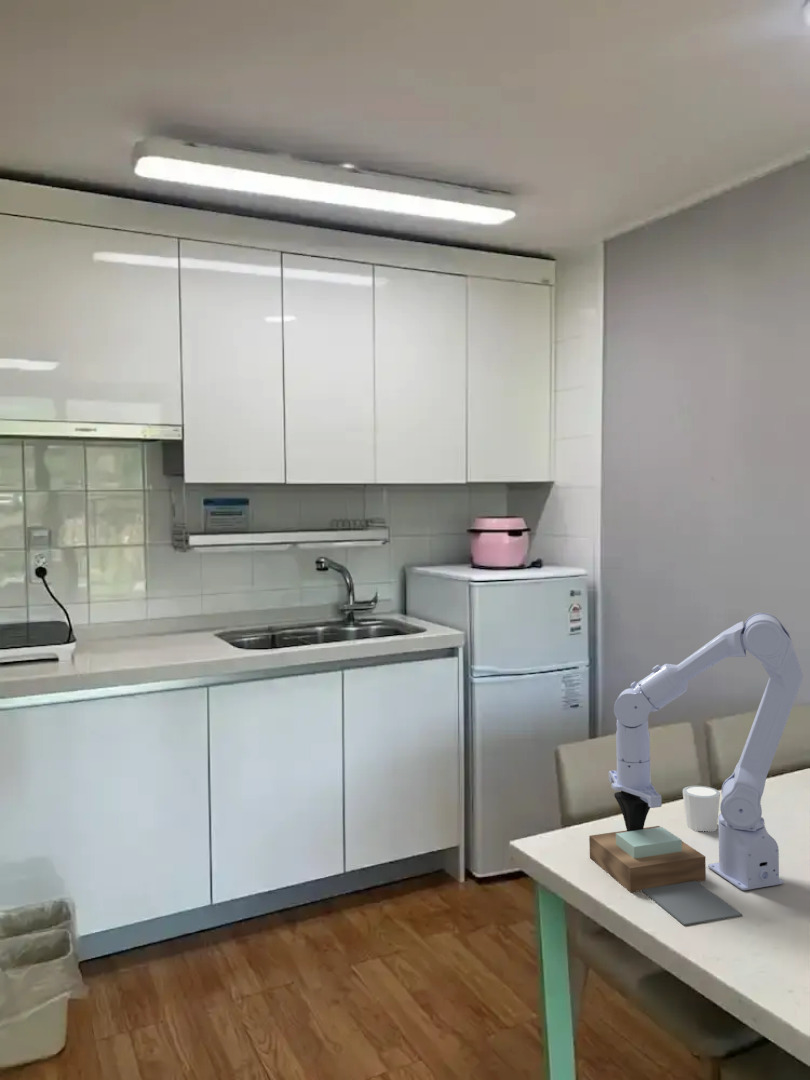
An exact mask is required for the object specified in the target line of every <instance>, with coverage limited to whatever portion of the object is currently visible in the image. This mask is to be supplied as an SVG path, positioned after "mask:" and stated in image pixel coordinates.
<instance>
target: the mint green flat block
mask: <svg viewBox="0 0 810 1080" xmlns="http://www.w3.org/2000/svg"><path fill="white" fill-rule="evenodd" d="M682 841H683V839H682V838H679V837H678V836H676V835H675V834H674V833H672V832H670V831H669V830H667V828H665V827H663V826H660V827H657V828H650V829H643V830H636V831H629V832H622V833H616V845H617V846H618V847H620V848H621V849H622V850H624V851H625V852H626V853H627V854H629V855H630V856H631V857H633V858H634V859H635V858H642V857H648V856H655V855H661V854H668V853H674V852H681V851H682Z"/></svg>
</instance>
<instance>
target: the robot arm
mask: <svg viewBox="0 0 810 1080" xmlns="http://www.w3.org/2000/svg"><path fill="white" fill-rule="evenodd" d="M746 652H748V653H750V654H751V655H752V656H753V657H754V658H755V659H756V660H757V661H758V662H760V663H761V665H762V666H763V669H764V670H765V671H766V674H767V675H768V676H769V677H768V681H767V683H766V686H765V689H764V691H763V694H762V697H761V699H760V701H759V702H760V703H759V705H758V708H757V711H756V713H755V716H754V719H753V722H752V725H751V728H750V730H749V733H748V736H747V738H746V741H745V744H744V746H743V749H742V753H741V755H740V758H739V760H738V762H737V764H736V766H735V767H734V770H733V772H732V774H731V775H730V776H729V777H728V778H726V779H725V780H724V781H723V783H722V786H721V802H720V804H719V811H720V813H719V814H718V823H717V824H718V862H713V863H708V864H707V867H708V869H711V870H712V872H715V873H716V874H717V875H719V876H720V877H722V878H723V879H725V880H727V881H728V883H731V884H732V885H734V886H735V887H736V888H738V889H739V890H741V891H747V890H748V891H749V890H755V889H760V888H765V887H772V886H779V885H783V884H784V879H781V878H780V866H779V865H780V862H779V861H780V857H779V855H780V854H779V851H780V850H779V846H778V843H777V840H776V839H775V838H774V837H772V836H771V834H769V832H768V831H767V829H766V825H765V823H766V822H765V819H764V817H762V814H763V810H762V804H761V803H762V802H761V800H762V797H763V794H764V791H765V786H766V780H767V776H768V774H769V772H770V769H771V766H772V763H773V760H774V758H775V755H776V752H777V749H778V746H779V743H780V741H781V739H782V737H783V736H782V735H783V733H784V730H785V727H786V725H787V722H788V719H789V718H790V714H791V712H792V709H793V706H794V704H795V701H796V698H797V695H798V692H799V690H800V687H801V685H802V682H803V677H804V674H803V672H802V668H801V665H800V663H799V660H798V657H797V652H796V650H795V648H794V644H793V642H792V638H791V636H790V633H789V631H788V630H787V629H786V626H784V625H783V623H782V622H781V621H780V619H778V617H776V616H774V615H773V614H771V613H768V612H757V613H754V614H752V615H751V616H749V617H748V618H747V619H746V620H745V622H744V621H740V622H737V623H735V624H734V625H732V626H731V627H729V628H727V629H725V630H723V631H722V632H720V633H719V634H718V635H717V636H715V637H714V638H712V639H711V640H710V641H708V642H707V643H705V644H704V645H703V646H702V647H700V648H699V649H697V650H696V651H695V652H693V653H692V654H691V655H689V656H688V657H686V658H685V659H684V660H682V661H681V662H680V663H678V664H673V663H672V664H671V663H664V664H663V665H660V664H657V665H655V666H654V667H652V669H651V671H652V672H651V673H650V674H648V675H647V676H645V677H643V678H642V679H641V680H639V681H638V682H636V681H633V682H631V684H630V688H626V689H624V690H623V691H621V693H620V694H619V695H618V696H617V699H616V700H615V702H614V705H613V714H614V717H615V718H616V724H615V725H616V732H615V744H616V746H615V747H616V749H615V750H616V751H615V752H616V770H614V769H613V770H609V771H608V782H609V783H611V784H610V785H611V786H610V787H611V789H613V790H614V791H617V792H614V795H613V796H614V798H615V800H616V802H617V803H618V805H619V808H620V810H621V814H622V816H623V820H624V824H625V828H626V830H627V832H629V831H636V830H643V828H645V827H644V826H645V823H646V819H647V816H648V813H649V811H650V809H654V808H661V807H662V806H663V805H662V795H661V794H660V793H659V792H657V790H656V788H655V786H654V785H653V783H652V782H651V781H652V779H651V776H652V775H651V742H650V741H651V738H650V737H651V736H650V731H649V716H650V713H652V712H658V711H659V710H661V709H662V708H664V707H665V706H667V705H669V704H670V703H671V702H673V701H674V700H676V699H677V698H679V697H681V696H682V695H683V694H685V693H687V691H688V686H689V681H690V680H692V679H694V678H695V677H697V676H698V675H700V674H702V673H703V672H705V671H707V670H708V669H710V668H711V667H713V666H715V665H717V664H718V663H720V662H721V661H723V660H725V659H726V658H729V657H733V658H746V657H747V653H746Z"/></svg>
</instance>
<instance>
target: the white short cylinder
mask: <svg viewBox="0 0 810 1080" xmlns="http://www.w3.org/2000/svg"><path fill="white" fill-rule="evenodd" d="M720 796H721V792H720V791H719V790H718V789H716V788H714V787H711V786H710V787H709V786H706V785H704V786H703V785H690V786H686V787H684V788H683V789H682V797H683V806H684V815H685V816H684V817H685V825H687V826H688V827H689V828H690V830H691V829H693V830H692V831H694V830H696V831H695V832H698V831H703V832H702V833H705V832H704V831H708V832H707V833H710V832H709V831H712V832H715V831H717V830H716V829H718V824H719V823H718V821H719V819H718V817H719V811H720V798H721V797H720ZM687 826H686V827H687ZM688 827H687V828H688ZM689 828H688V829H689ZM714 830H715V831H714Z"/></svg>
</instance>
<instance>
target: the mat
mask: <svg viewBox="0 0 810 1080" xmlns="http://www.w3.org/2000/svg"><path fill="white" fill-rule="evenodd" d="M641 892H642V893H644V894H645V895H646V896H648V898H650V899H651V900H652V901H653V902H654V903H655V904H657V905H658V906H659V907H660V908H661V909H663V910H664V911H666V912H667V913H668V914H669V915H670V916H672V917H673V918H674V919H675V920H676V921H678V922H679V923H680V924H681V925H683V927H686V926H692V925H698V924H703V923H708V922H710V923H711V922H715V921H720V920H725V919H730V918H737V917H743V913H742V912H740V911H739V910H738V909H737V908H735V907H733V906H732V905H731V904H729V903H728V902H727V901H725V900H724V899H723V898H721V897H719V896H718V895H716V894H715V892H713V891H711V890H710V889H708V888H707V887H706V886H704V885H703V884H702V883H700V881H690V882H684V883H678V884H672V885H665V886H659V887H653V888H647V889H642V891H641Z"/></svg>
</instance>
